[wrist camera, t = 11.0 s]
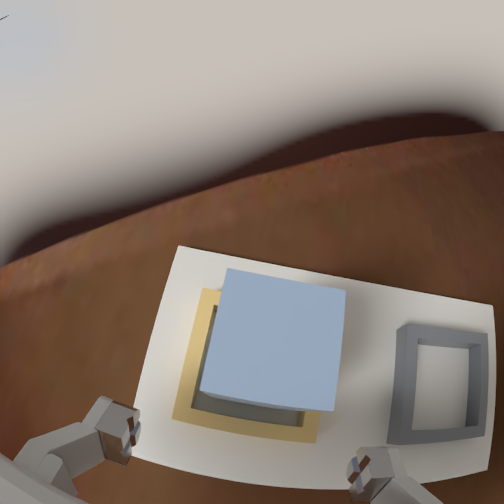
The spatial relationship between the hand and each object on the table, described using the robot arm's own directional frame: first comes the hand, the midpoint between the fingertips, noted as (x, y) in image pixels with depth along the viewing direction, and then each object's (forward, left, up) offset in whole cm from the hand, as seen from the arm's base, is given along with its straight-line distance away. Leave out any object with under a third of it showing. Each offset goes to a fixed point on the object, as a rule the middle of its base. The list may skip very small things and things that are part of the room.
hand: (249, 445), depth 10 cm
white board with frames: (-6, -4, -6) cm, 9 cm away
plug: (0, -4, -6) cm, 7 cm away
